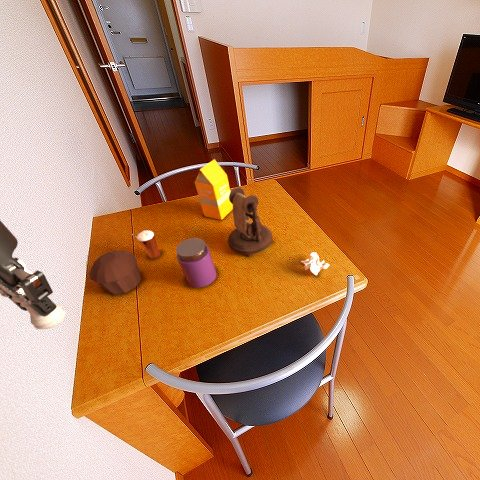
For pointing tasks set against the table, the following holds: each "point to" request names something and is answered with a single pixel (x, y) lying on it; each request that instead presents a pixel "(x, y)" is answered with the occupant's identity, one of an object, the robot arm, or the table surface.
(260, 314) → the table surface
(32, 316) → the rook chess piece
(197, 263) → the jar
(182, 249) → the jar lid
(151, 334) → the table surface
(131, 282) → the muffin
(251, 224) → the scroll
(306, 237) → the table surface
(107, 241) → the table surface
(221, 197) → the orange juice
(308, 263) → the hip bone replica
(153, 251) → the milkshake
